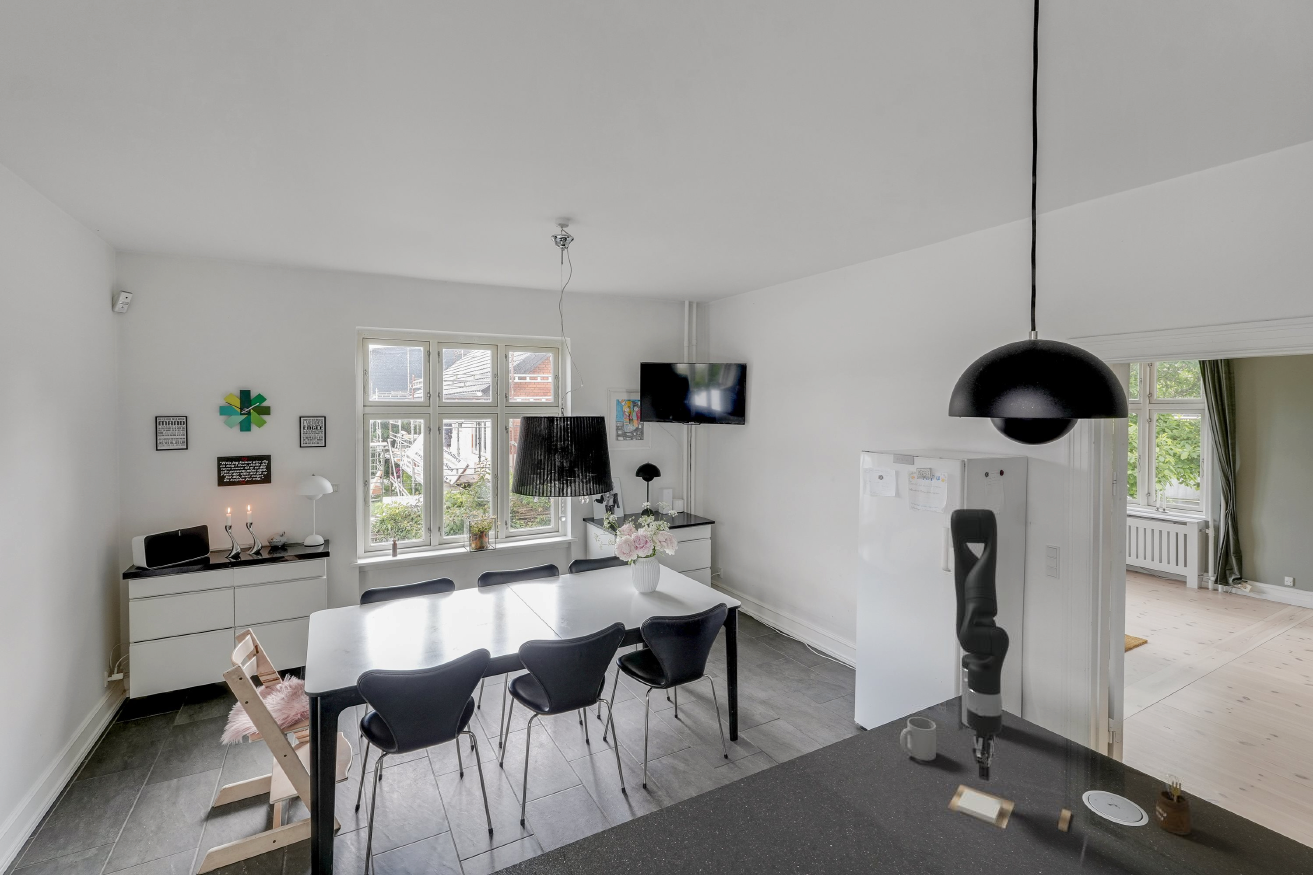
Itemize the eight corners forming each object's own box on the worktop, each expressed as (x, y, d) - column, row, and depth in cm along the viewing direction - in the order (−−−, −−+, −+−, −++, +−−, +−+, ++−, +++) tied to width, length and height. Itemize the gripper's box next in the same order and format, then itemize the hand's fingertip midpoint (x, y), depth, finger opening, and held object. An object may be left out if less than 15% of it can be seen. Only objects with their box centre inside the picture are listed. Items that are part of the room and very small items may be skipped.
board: (960, 786, 153) (960, 784, 153) (1015, 804, 145) (1015, 802, 145) (947, 809, 143) (947, 807, 143) (1004, 830, 136) (1004, 828, 136)
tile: (965, 788, 148) (956, 804, 142) (1002, 801, 143) (995, 818, 137) (965, 794, 148) (956, 810, 142) (1002, 806, 143) (995, 824, 137)
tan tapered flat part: (1055, 811, 142) (1055, 806, 142) (1078, 818, 140) (1078, 813, 140) (1047, 840, 132) (1047, 835, 132) (1071, 849, 130) (1071, 843, 130)
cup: (941, 760, 164) (941, 728, 164) (908, 764, 163) (908, 731, 163) (925, 746, 172) (925, 715, 171) (893, 750, 170) (893, 719, 170)
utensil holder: (1187, 823, 137) (1187, 771, 137) (1194, 840, 132) (1194, 785, 132) (1153, 815, 140) (1153, 764, 140) (1159, 831, 135) (1159, 778, 135)
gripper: (973, 693, 153) (974, 761, 154) (960, 712, 143) (960, 785, 143) (1007, 702, 149) (1007, 771, 149) (995, 722, 138) (996, 797, 139)
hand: (984, 778), depth 146 cm, fingers closed
